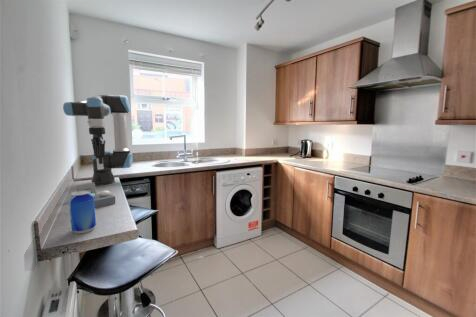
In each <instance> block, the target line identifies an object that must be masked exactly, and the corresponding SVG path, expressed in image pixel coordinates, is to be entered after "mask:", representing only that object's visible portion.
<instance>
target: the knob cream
mask: <svg viewBox="0 0 476 317" xmlns="http://www.w3.org/2000/svg"><path fill="white" fill-rule="evenodd" d="M99 194H100V196H103V197H104V196H108V195H109V194H110V191H109V190H101V191H99Z"/></svg>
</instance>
